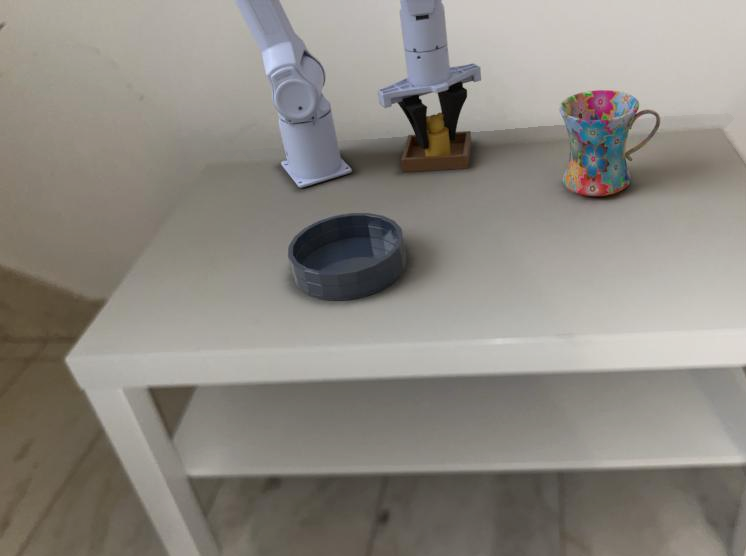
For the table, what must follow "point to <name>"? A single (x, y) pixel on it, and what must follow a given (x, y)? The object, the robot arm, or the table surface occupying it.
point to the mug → (600, 140)
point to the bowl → (347, 256)
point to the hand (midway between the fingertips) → (436, 142)
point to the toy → (437, 136)
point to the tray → (419, 161)
